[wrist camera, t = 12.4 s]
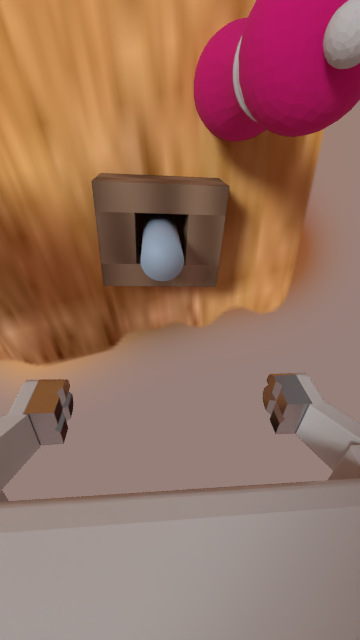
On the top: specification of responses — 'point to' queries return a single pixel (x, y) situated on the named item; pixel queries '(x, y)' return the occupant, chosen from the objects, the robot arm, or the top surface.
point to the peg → (161, 248)
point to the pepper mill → (281, 69)
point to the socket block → (163, 198)
